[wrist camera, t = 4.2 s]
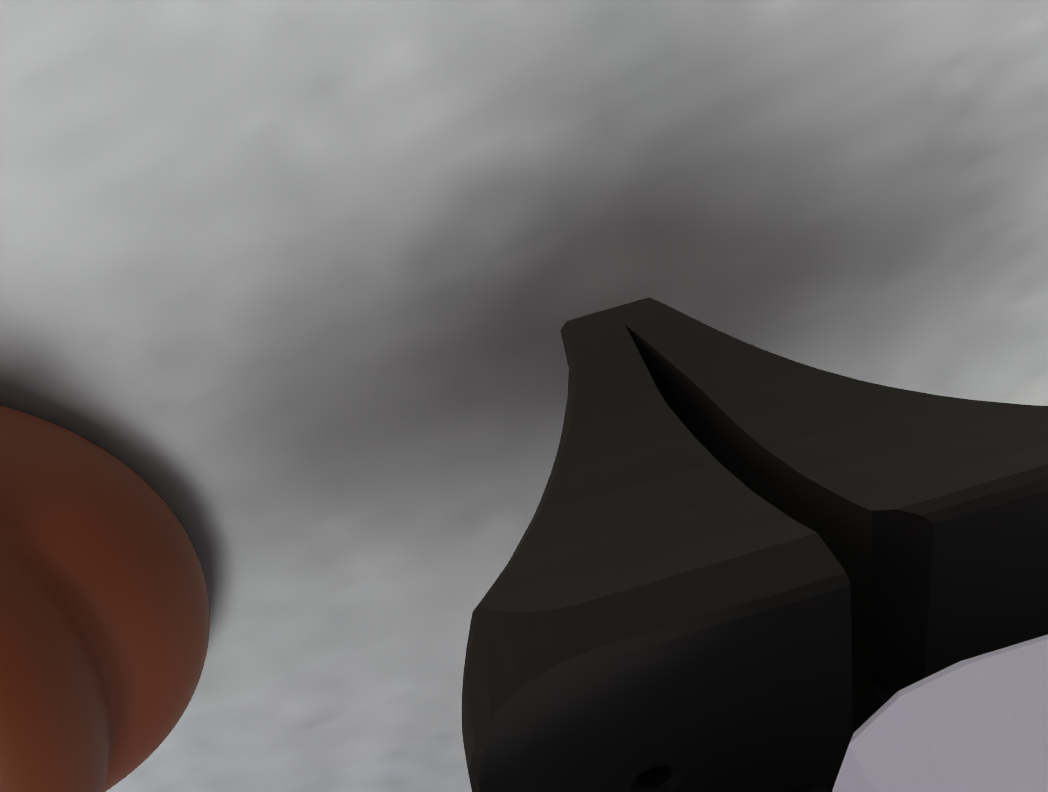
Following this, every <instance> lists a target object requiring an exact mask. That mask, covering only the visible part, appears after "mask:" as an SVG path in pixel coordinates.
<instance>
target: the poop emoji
mask: <svg viewBox="0 0 1048 792" xmlns="http://www.w3.org/2000/svg"><path fill="white" fill-rule="evenodd" d="M209 625H210V613H209V601H208V593H207V587H206V583H205V578H204V574H203V571H202V568H201V564H200V562H199V559H198V556H197V554H196V552H195V549H194V547H193V545H192V543H191V541H190V539H189V537H188V535H187V533H186V531H185V530H184V528H183V527H182V525H181V523H180V522H179V520H178V519H177V517H176V516H175V515H174V513H173V512H172V510H171V509H170V508H169V507H168V505H167V504H166V503H165V502H164V501H163V499H162V498H161V497H160V496H159V495H158V494H157V493H156V492H155V491H154V490H153V489H152V488H151V487H150V486H149V485H148V484H147V483H146V482H145V481H144V480H143V479H142V478H141V477H140V476H139V475H138V474H136V473H135V472H134V471H133V470H131V469H130V468H129V467H128V466H126V465H125V464H124V463H123V462H121V461H120V460H118V459H117V458H116V457H114V456H113V455H111V454H110V453H108V452H107V451H105V450H103V449H102V448H100V447H99V446H97V445H95V444H93V443H92V442H90V441H88V440H87V439H85V438H83V437H81V436H79V435H77V434H75V433H73V432H71V431H69V430H67V429H64V428H62V427H60V426H58V425H56V424H53V423H51V422H48V421H46V420H43V419H41V418H38V417H35V416H32V415H29V414H27V413H24V412H21V411H17V410H14V409H11V408H8V407H4V406H0V792H105V791H107V790H108V789H110V788H111V787H113V786H114V785H115V784H117V783H118V782H119V781H121V780H122V779H123V778H125V777H126V776H127V775H128V774H130V773H131V772H132V771H133V770H134V769H136V768H137V767H138V766H139V765H140V764H141V763H142V762H143V761H145V760H146V759H147V758H148V757H149V756H150V755H151V754H152V753H153V752H154V751H155V750H156V748H157V747H158V746H159V745H160V744H161V743H162V742H163V740H164V739H165V738H166V737H167V736H168V735H169V733H170V732H171V730H172V729H173V728H174V726H175V725H176V724H177V722H178V721H179V719H180V717H181V716H182V714H183V713H184V711H185V709H186V707H187V706H188V704H189V702H190V700H191V698H192V696H193V694H194V691H195V689H196V687H197V684H198V681H199V679H200V676H201V673H202V669H203V666H204V662H205V657H206V653H207V646H208V640H209Z"/></svg>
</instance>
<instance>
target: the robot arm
mask: <svg viewBox="0 0 1048 792" xmlns="http://www.w3.org/2000/svg"><path fill="white" fill-rule="evenodd" d="M561 335H562V339H563V343H564V348H565V352H566V357H567V361H568V366H569V382H568V398H567V405H566V412H565V418H564V424H563V430H562V435H561V439H560V444H559V448H558V452H557V455H556V459H555V462H554V465H553V469H552V472H551V475H550V477H549V480H548V483H547V485H546V488H545V491H544V493H543V496H542V498H541V501H540V503H539V506H538V508H537V510H536V512H535V515H534V517H533V519H532V521H531V523H530V524H529V526H528V528H527V530H526V532H525V534H524V535H523V537H522V539H521V541H520V543H519V545H518V546H517V548H516V550H515V552H514V554H513V556H512V557H511V559H510V561H509V562H508V564H507V565H506V567H505V569H504V570H503V571H502V573H501V574H500V576H499V577H498V578H497V580H496V581H495V583H494V584H493V585H492V587H491V588H490V589H489V591H488V592H487V594H486V595H485V596H484V598H483V599H482V601H481V602H480V603H479V604H478V606H477V607H476V608H475V609H474V611H473V614H472V619H471V625H470V631H469V637H468V643H467V650H466V658H465V666H464V675H463V690H462V733H463V742H464V748H465V755H466V761H467V767H468V773H469V778H470V783H471V788H472V792H1048V406H1033V405H1020V404H1009V403H998V402H988V401H977V400H968V399H960V398H953V397H945V396H938V395H932V394H926V393H920V392H915V391H909V390H904V389H898V388H892V387H887V386H882V385H878V384H873V383H869V382H864V381H860V380H856V379H853V378H849V377H845V376H842V375H838V374H834V373H830V372H827V371H823V370H819V369H816V368H813V367H810V366H807V365H804V364H800V363H797V362H795V361H792V360H789V359H787V358H784V357H781V356H778V355H776V354H773V353H770V352H768V351H765V350H762V349H760V348H757V347H755V346H752V345H750V344H748V343H745V342H743V341H740V340H738V339H736V338H734V337H731V336H729V335H727V334H725V333H722V332H720V331H718V330H716V329H714V328H712V327H709V326H707V325H705V324H703V323H701V322H699V321H697V320H695V319H693V318H691V317H689V316H687V315H685V314H683V313H681V312H679V311H677V310H675V309H673V308H671V307H669V306H666V305H664V304H662V303H660V302H658V301H656V300H653V299H651V298H646V299H642V300H639V301H635V302H632V303H628V304H625V305H621V306H618V307H614V308H611V309H607V310H604V311H600V312H597V313H594V314H590V315H587V316H583V317H580V318H576V319H573V320H569V321H567V322H566V323H565V325H564V326H563V328H562V329H561Z"/></svg>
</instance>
